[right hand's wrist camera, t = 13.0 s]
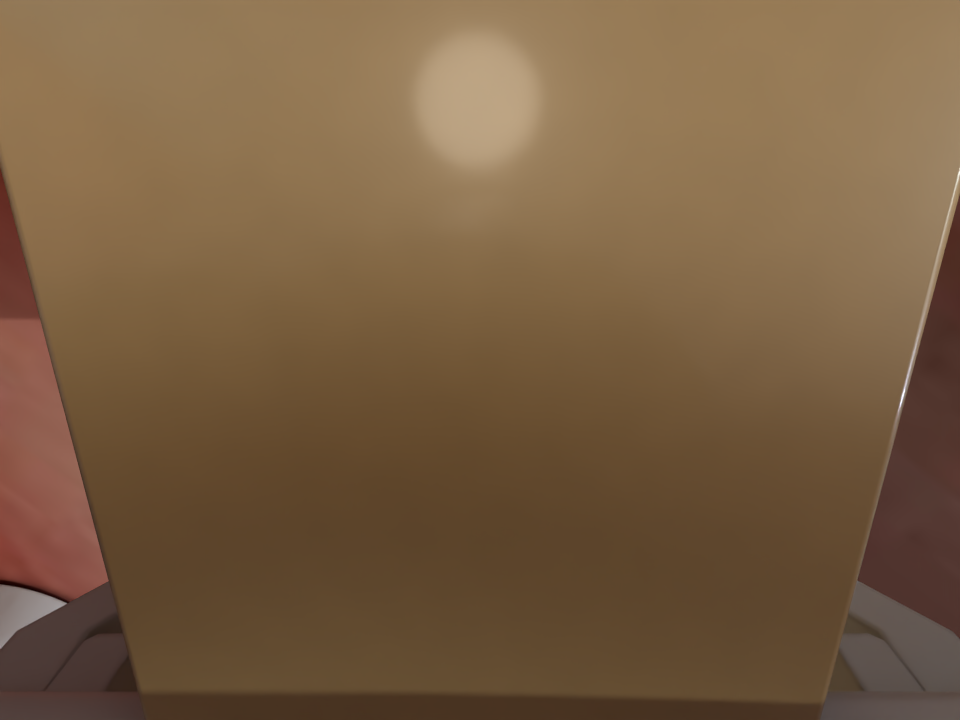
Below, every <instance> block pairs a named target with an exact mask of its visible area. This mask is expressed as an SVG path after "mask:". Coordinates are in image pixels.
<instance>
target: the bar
mask: <svg viewBox="0 0 960 720" xmlns="http://www.w3.org/2000/svg"><path fill="white" fill-rule="evenodd" d="M0 168H1V172H2V175H3V179H4V183H5V187H6V191H7V195H8V198H9V202H10V206H11V210H12V214H13V217H14V221H15V225H16V229H17V233H18V236H19V240H20V244H21V248H22V252H23V256H24V259H25V263H26V267H27V271H28V275H29V278H30V282H31V286H32V290H33V294H34V297H35V301H36V305H37V309H38V313H39V317H40V320H41V324H42V328H43V332H44V336H45V339H46V343H47V347H48V351H49V355H50V358H51V362H52V366H53V370H54V374H55V378H56V381H57V385H58V389H59V393H60V397H61V400H62V404H63V408H64V412H65V416H66V420H67V423H68V427H69V431H70V435H71V439H72V442H73V446H74V450H75V454H76V458H77V461H78V465H79V469H80V473H81V477H82V481H83V484H84V488H85V492H86V496H87V500H88V503H89V507H90V511H91V515H92V519H93V522H94V526H95V530H96V534H97V538H98V542H99V545H100V549H101V553H102V557H103V561H104V564H105V568H106V572H107V576H108V580H109V584H110V587H111V591H112V595H113V599H114V603H115V606H116V610H117V614H118V618H119V622H120V625H121V629H122V633H123V637H124V641H125V645H126V648H127V652H128V656H129V660H130V664H131V667H132V671H133V675H134V679H135V683H136V686H137V690H138V694H139V698H140V702H141V706H142V709H143V713H144V717H145V720H820V718H821V715H822V711H823V707H824V703H825V700H826V696H827V692H828V688H829V684H830V681H831V677H832V673H833V669H834V666H835V662H836V658H837V654H838V650H839V647H840V643H841V639H842V635H843V632H844V628H845V624H846V620H847V616H848V613H849V609H850V605H851V601H852V598H853V594H854V590H855V586H856V582H857V579H858V575H859V571H860V567H861V564H862V560H863V556H864V552H865V548H866V545H867V541H868V537H869V533H870V530H871V526H872V522H873V518H874V515H875V511H876V507H877V503H878V499H879V496H880V492H881V488H882V484H883V481H884V477H885V473H886V469H887V465H888V462H889V458H890V454H891V450H892V447H893V443H894V439H895V435H896V431H897V428H898V424H899V420H900V416H901V413H902V409H903V405H904V401H905V397H906V394H907V390H908V386H909V382H910V379H911V375H912V371H913V367H914V363H915V360H916V356H917V352H918V348H919V345H920V341H921V337H922V333H923V330H924V326H925V322H926V318H927V314H928V311H929V307H930V303H931V299H932V296H933V292H934V288H935V284H936V280H937V277H938V273H939V269H940V265H941V262H942V258H943V254H944V250H945V246H946V243H947V239H948V235H949V231H950V228H951V224H952V220H953V216H954V212H955V209H956V205H957V201H958V197H959V194H960V0H0Z"/></svg>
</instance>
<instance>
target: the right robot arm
mask: <svg viewBox="0 0 960 720" xmlns="http://www.w3.org/2000/svg"><path fill="white" fill-rule="evenodd" d="M0 720H145V717H144V713H143V709H142V706H141V702H140V698H139V694H138V690H137V686H136V683H135V679H134V675H133V671H132V667H131V664H130V660H129V656H128V652H127V648H126V645H125V641H124V637H123V633H122V629H121V625H120V622H119V618H118V614H117V610H116V606H115V603H114V599H113V595H112V591H111V587H110V584H109V581H108V582H106V583H105V584H103V585H101V586H99V587H97V588H95V589H93V590H92V591H90V592H88V593H86V594H84V595H82V596H80V597H79V598H77V599H75V600H73V601H71V602H69V603H65V602H63V601H61V600H58V599H56V598H53V597H51V596H48V595H45V594H42V593H39V592H36V591H32V590H29V589H24V588H20V587H15V586H9V585H1V584H0ZM820 720H960V639H959V638H958V637H957V636H956V635H955V634H954V633H953V632H952V631H951V630H949V629H947V628H945V627H943V626H941V625H939V624H938V623H936V622H934V621H932V620H930V619H928V618H926V617H924V616H923V615H921V614H919V613H917V612H915V611H913V610H911V609H909V608H908V607H906V606H904V605H902V604H900V603H898V602H896V601H894V600H893V599H891V598H889V597H887V596H885V595H883V594H881V593H879V592H878V591H876V590H874V589H872V588H870V587H868V586H866V585H865V584H863V583H861V582H859V581H857V582H856V586H855V590H854V594H853V598H852V601H851V605H850V609H849V613H848V616H847V620H846V624H845V628H844V632H843V635H842V639H841V643H840V647H839V650H838V654H837V658H836V662H835V666H834V669H833V673H832V677H831V681H830V684H829V688H828V692H827V696H826V700H825V703H824V707H823V711H822V715H821V718H820Z"/></svg>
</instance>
